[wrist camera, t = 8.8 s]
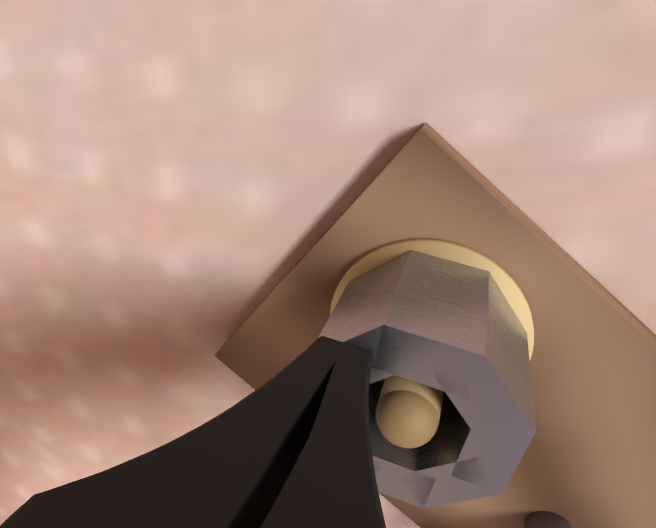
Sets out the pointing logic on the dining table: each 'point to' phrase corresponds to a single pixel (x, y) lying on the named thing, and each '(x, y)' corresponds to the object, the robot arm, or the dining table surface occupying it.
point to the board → (534, 314)
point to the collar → (443, 374)
